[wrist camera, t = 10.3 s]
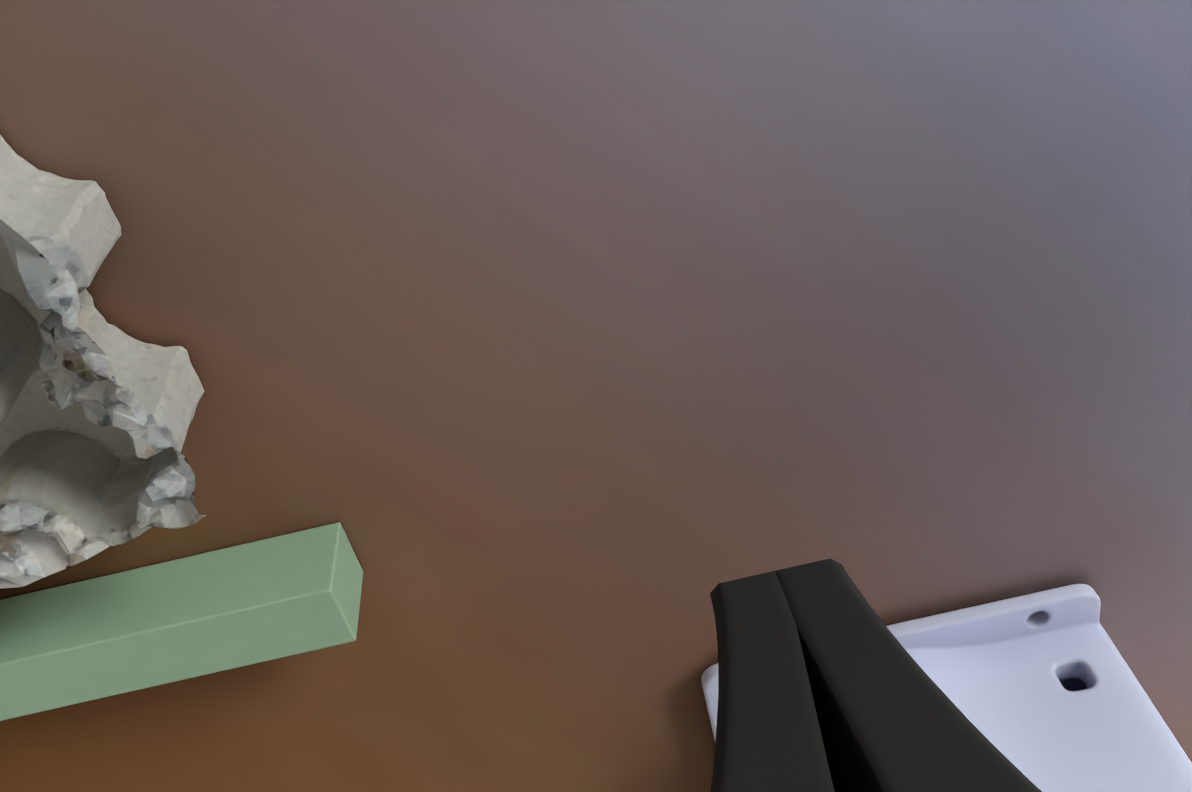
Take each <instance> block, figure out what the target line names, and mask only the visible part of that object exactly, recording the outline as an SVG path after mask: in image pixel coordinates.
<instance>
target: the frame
mask: <svg viewBox="0 0 1192 792" xmlns="http://www.w3.org/2000/svg"><path fill="white" fill-rule="evenodd" d="M362 579H363V570H362V568H361V566H360V564H359V562H358V559H357V557H356V555H355V553H354V551H353V549H352V547H351V544H350V542H349V540H348V538H347V536H346V534H345V531H344V529H343V527H342V525H341V523H340V522H338V523H333V524H329V525H325V526H320V527H316V528H312V529H307V530H303V531H298V532H294V533H290V534H285V535H281V536H277V537H272V538H268V539H264V540H259V541H255V542H250V543H246V544H242V545H237V546H233V547H229V548H224V549H220V550H215V551H211V552H207V553H202V554H198V555H194V556H189V557H185V558H181V559H176V560H172V561H167V562H163V563H159V564H154V565H150V566H146V567H141V568H137V569H132V570H128V571H124V572H119V573H115V574H111V575H106V576H102V577H97V578H93V579H89V580H84V581H80V582H76V583H71V584H67V585H63V586H58V587H54V588H49V589H45V590H41V591H36V592H32V593H28V594H23V595H19V596H14V597H10V598H6V599H1V600H0V721H2V720H6V719H11V718H15V717H20V716H24V715H29V714H33V713H38V712H42V711H47V710H51V709H55V708H60V707H64V706H69V705H73V704H78V703H82V702H87V701H91V700H95V699H100V698H104V697H109V696H113V695H118V694H122V693H127V692H131V691H136V690H140V689H144V688H149V687H153V686H158V685H162V684H167V683H171V682H176V681H180V680H184V679H189V678H193V677H198V676H202V675H207V674H211V673H216V672H220V671H224V670H229V669H233V668H238V667H242V666H247V665H251V664H256V663H260V662H265V661H269V660H273V659H278V658H282V657H287V656H291V655H296V654H300V653H305V652H309V651H313V650H318V649H322V648H327V647H331V646H336V645H340V644H345V643H349V642H354V641H356V635H357V626H358V617H359V607H360V598H361V589H362Z"/></svg>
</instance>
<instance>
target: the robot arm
mask: <svg viewBox="0 0 1192 792" xmlns="http://www.w3.org/2000/svg"><path fill="white" fill-rule="evenodd" d="M710 595H711V600H712V604H713V609H714V614H715V621H716V630H717V641H718V663H717V664H714V665H711V666H710V667H709V668H707V669H706V670H705V671H704V673H703V674H702V677H701V683H702V687H703V691H704V696H705V700H706V704H707V709H708V713H709V717H710V722H711V726H712V730H713V735H714V739H715V758H714V769H713V777H712V785H711V792H1192V763H1191V761H1190V760H1189V758H1188V757H1187V755H1186V754H1185V752H1184V751H1183V749H1182V748H1181V746H1180V745H1179V743H1178V741H1177V740H1176V738H1175V737H1174V735H1173V734H1172V732H1171V731H1170V729H1169V728H1168V726H1167V725H1166V723H1165V722H1164V720H1163V719H1162V717H1161V716H1160V714H1159V712H1158V711H1157V709H1156V708H1155V706H1154V705H1153V703H1152V702H1151V700H1150V699H1149V697H1148V696H1147V694H1146V693H1145V691H1144V690H1143V688H1142V687H1141V685H1140V683H1139V682H1138V680H1137V679H1136V677H1135V676H1134V674H1133V673H1132V671H1131V670H1130V668H1129V667H1128V665H1127V664H1126V662H1125V661H1124V659H1123V657H1122V656H1121V654H1120V653H1119V651H1118V650H1117V648H1116V647H1115V645H1114V644H1113V642H1112V641H1111V639H1110V638H1109V636H1108V635H1107V633H1106V632H1105V630H1104V628H1103V627H1102V625H1101V624H1100V623H1099V616H1100V605H1101V603H1100V598H1099V597H1098V595H1097V594H1096V592H1095V591H1094V589H1093V588H1092V587H1091V586H1089V585H1086V584H1072V585H1068V586H1063V587H1059V588H1054V589H1050V590H1045V591H1041V592H1036V593H1032V594H1027V595H1023V596H1018V597H1014V598H1009V599H1005V600H1000V601H996V602H991V603H986V604H982V605H977V606H973V607H968V608H964V609H959V610H955V611H950V612H946V613H941V614H937V615H932V616H928V617H923V618H919V619H914V620H910V621H905V622H901V623H896V624H892V625H887V626H886V625H885V624H884V623H883V622H882V620H881V619H880V618H879V617H878V615H877V614H876V613H875V611H874V610H873V609H872V608H871V606H870V605H869V604H868V602H867V601H866V600H865V598H864V597H863V596H862V594H861V593H860V591H859V590H858V588H857V587H856V586H855V584H854V583H853V581H852V580H851V578H850V577H849V575H848V574H847V572H846V571H845V569H844V568H843V566H842V565H841V564H840V563H838V562H836V561H834V560H832V559H831V558H830V559H826V560H822V561H817V562H813V563H808V564H804V565H799V566H795V567H790V568H786V569H781V570H777V571H772V572H768V573H763V574H759V575H755V576H750V577H746V578H741V579H737V580H732V581H728V582H723V583H719V584H718V585H717V586H716V587H715V588H714V590H713V591H712V592H711V593H710Z"/></svg>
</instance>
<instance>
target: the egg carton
mask: <svg viewBox="0 0 1192 792" xmlns="http://www.w3.org/2000/svg"><path fill="white" fill-rule="evenodd" d="M120 236H121V226H120V224H119V222H118V220H117V218H116V216H115V214H114V213H113V211H112V209H111V207H110V205H109V203H108V201H107V199H106V196H105V192H104V191H103V190H102V189H101V188H100V187H99V185H98V184H97V182H96V181H91V180H73V179H68V178H63V177H60V176H57V175H55V174H52V173H50V172H46V171H42V170H38V169H37V168H36V167H34V166H33V165H31V164H30V163H29V162H27V161H26V160H24V159H23V158H21V157H20V156H18V155H17V154H16V153H15V152H14V151H13V150H12V148H11V147H10V146H9V145H8V144H7V143H6V141H5V140H4V139H3V138H2V136H1V135H0V589H1V588H14V587H24V586H26V585H28V584H30V583H33V582H35V581H37V580H39V579H42V578H44V577H46V576H49V575H51V574H54V573H56V572H59V571H61V570H64V569H66V568H69V567H71V566H73V565H76V564H78V563H80V562H82V561H85V560H87V559H89V558H91V557H92V556H94V555H96V554H98V553H99V552H101V551H103V550H105V549H106V548H108V547H111V546H115V545H120V544H124V543H126V542H128V541H130V540H132V539H134V538H136V537H138V536H139V535H141V534H142V533H144V532H145V531H147V530H148V529H150V528H152V527H164V528H170V529H178V528H182V527H186V526H190V525H193V524H195V523H196V522H198V521H199V520H201V519H202V518H204V517H205V516H207V515H202V516H200V515H199V514H198V512H197V510H196V508H195V504H194V488H195V474H194V472H193V471H192V469H191V467H190V465H189V464H188V462H187V460H186V458H185V456H184V455H183V454H182V453H181V451H182V447H183V444H184V441H185V438H186V435H187V430H188V427H189V424H190V423H191V421H192V419H193V417H194V414H195V410H196V407H197V404H198V402H199V400H200V398H201V396H202V395H203V393H204V389H203V387H202V384H201V382H200V380H199V377H198V375H197V374H196V372H195V370H194V368H193V367H192V365H191V362H190V359H189V356H188V352H187V350H186V349H184V348H183V347H182V346H178V345H176V346H170V347H162V346H159V345H156V344H150V343H143V342H141V341H139V340H136V339H134V338H132V337H130V336H128V335H127V334H125V333H124V332H122V331H121V330H120V329H119V328H117V327H116V326H114V325H111V324H108V323H107V322H106V320H105V318H104V317H103V316H102V315H101V314H100V313H99V311H98V310H97V309H96V308H95V307H94V303H93V298H92V296H91V295H90V293H89V292H88V291H87V289H86V288H87V287H89V285H90V284H91V282H92V280H93V278H94V276H95V275H96V273H97V271H98V269H99V268H100V266H101V264H102V263H103V261H104V259H105V258H106V256H107V255H108V253H109V251H110V250H111V249H112V247H113V246H114V244H115V243H116V242H117V240H118V239H119V238H120Z"/></svg>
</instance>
